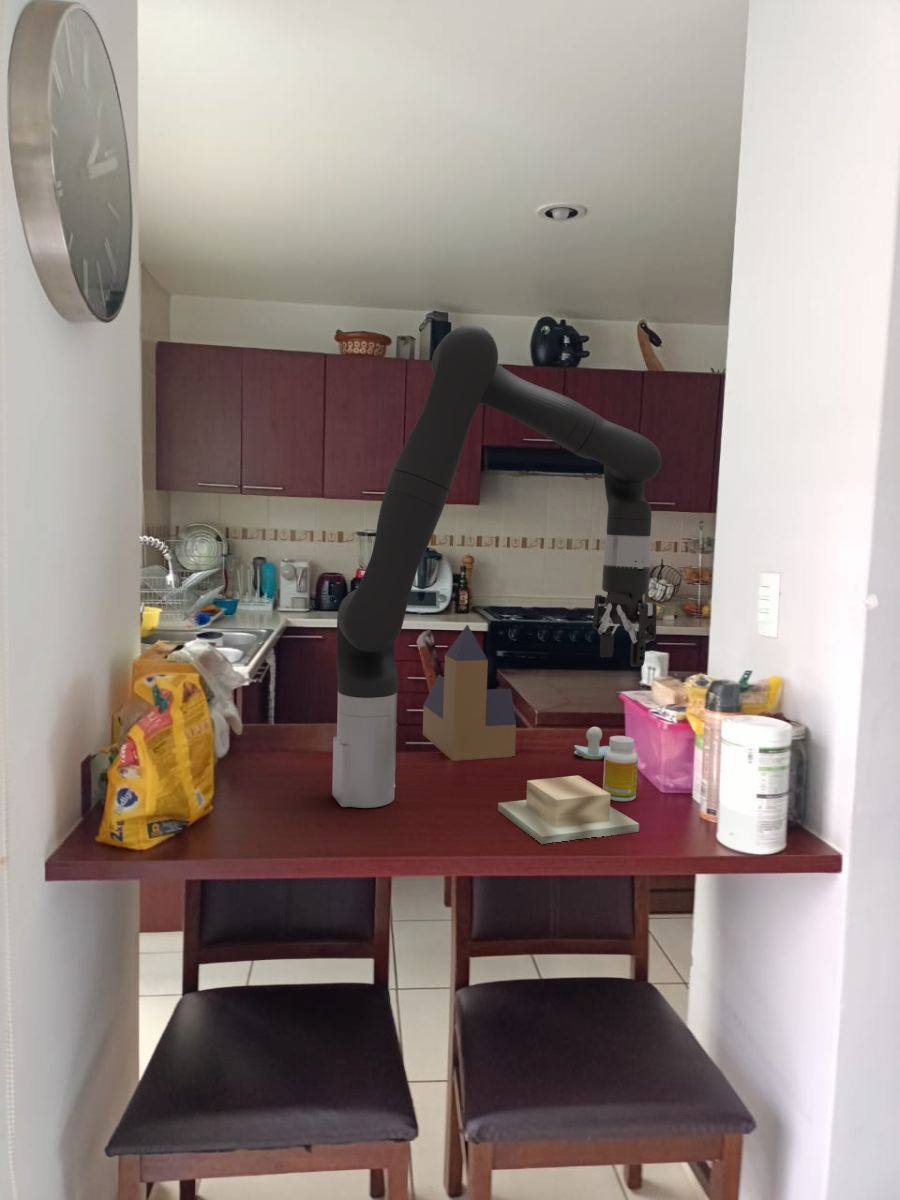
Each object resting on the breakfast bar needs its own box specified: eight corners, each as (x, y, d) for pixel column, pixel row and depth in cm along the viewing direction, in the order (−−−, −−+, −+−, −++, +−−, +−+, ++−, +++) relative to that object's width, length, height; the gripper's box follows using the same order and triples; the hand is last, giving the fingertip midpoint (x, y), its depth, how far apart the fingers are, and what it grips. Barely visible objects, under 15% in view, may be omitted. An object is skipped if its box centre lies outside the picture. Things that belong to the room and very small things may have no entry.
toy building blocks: (452, 761, 152) (457, 626, 150) (422, 734, 170) (426, 614, 167) (514, 756, 156) (520, 626, 154) (479, 731, 174) (483, 613, 171)
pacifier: (569, 753, 161) (576, 761, 155) (571, 721, 160) (577, 728, 154) (607, 753, 161) (614, 761, 155) (608, 721, 161) (616, 728, 155)
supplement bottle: (639, 802, 133) (642, 743, 132) (605, 801, 133) (608, 742, 132) (632, 791, 138) (635, 734, 137) (600, 790, 138) (602, 733, 137)
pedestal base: (541, 845, 114) (543, 808, 114) (498, 810, 127) (499, 777, 126) (638, 831, 120) (640, 797, 120) (587, 800, 133) (589, 768, 133)
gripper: (583, 560, 140) (578, 655, 141) (634, 566, 127) (628, 670, 128) (620, 560, 143) (615, 653, 144) (673, 566, 130) (667, 668, 131)
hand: (621, 661), depth 136 cm, fingers open, 8 cm apart
